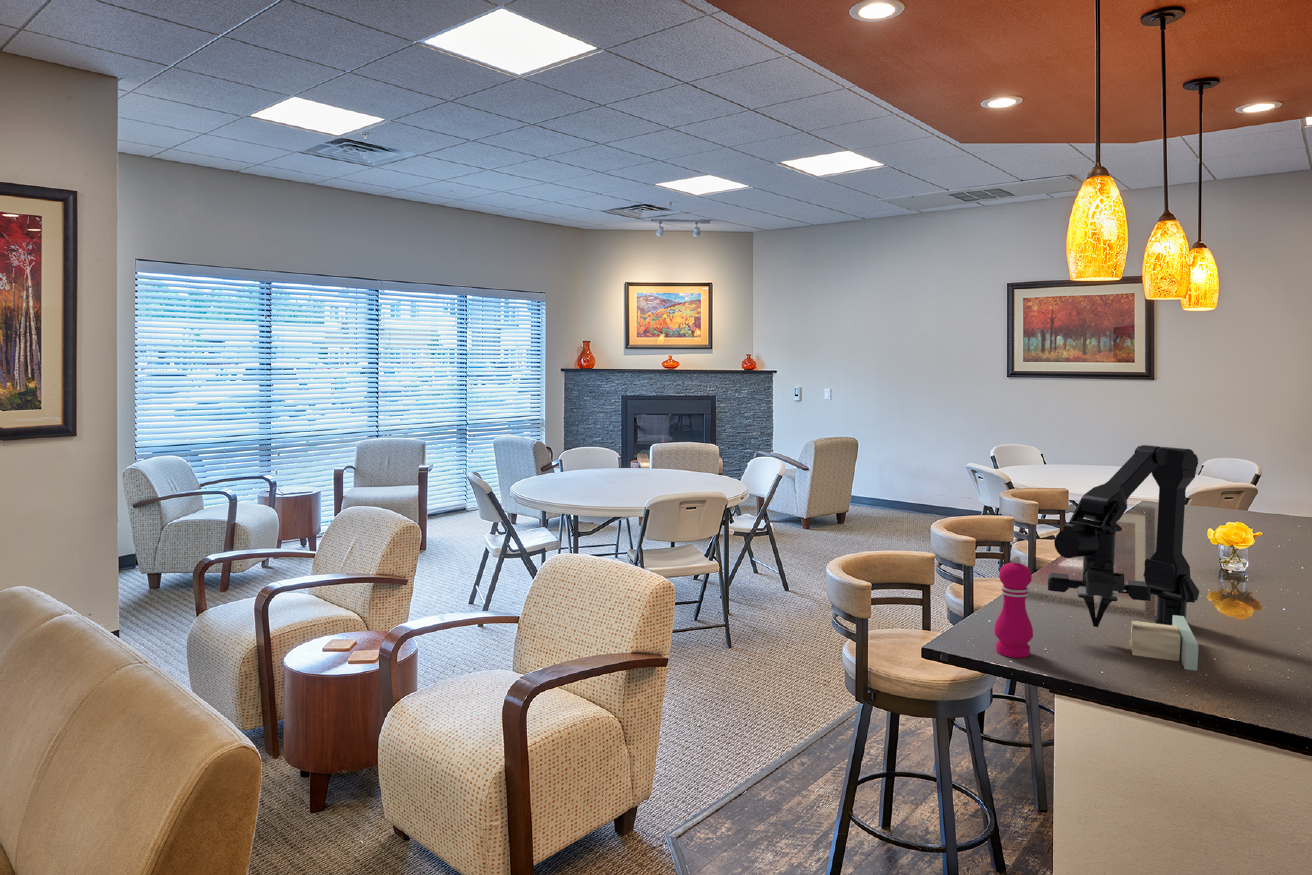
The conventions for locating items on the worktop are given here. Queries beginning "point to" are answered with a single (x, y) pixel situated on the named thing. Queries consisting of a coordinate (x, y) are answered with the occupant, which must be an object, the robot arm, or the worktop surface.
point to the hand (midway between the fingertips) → (1095, 626)
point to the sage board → (1186, 643)
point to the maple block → (1155, 640)
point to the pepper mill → (1014, 611)
